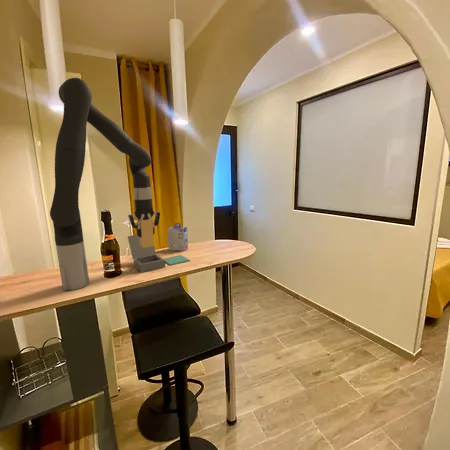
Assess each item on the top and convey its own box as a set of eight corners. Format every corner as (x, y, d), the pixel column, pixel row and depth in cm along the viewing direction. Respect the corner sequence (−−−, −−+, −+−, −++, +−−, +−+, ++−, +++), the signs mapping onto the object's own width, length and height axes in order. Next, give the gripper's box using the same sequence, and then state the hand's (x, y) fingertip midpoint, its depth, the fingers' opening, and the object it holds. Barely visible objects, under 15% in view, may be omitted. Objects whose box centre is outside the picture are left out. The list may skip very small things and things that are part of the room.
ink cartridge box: (188, 248, 152) (187, 222, 149) (185, 251, 147) (183, 224, 144) (172, 247, 154) (170, 222, 151) (168, 250, 149) (166, 224, 146)
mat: (170, 265, 125) (170, 264, 125) (162, 260, 133) (162, 258, 133) (189, 261, 130) (189, 259, 130) (181, 256, 138) (181, 254, 138)
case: (141, 272, 117) (140, 264, 117) (134, 265, 126) (133, 258, 126) (165, 267, 123) (164, 259, 122) (157, 260, 132) (156, 253, 132)
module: (143, 247, 119) (140, 220, 117) (139, 245, 123) (137, 219, 121) (154, 245, 122) (152, 219, 120) (150, 243, 126) (148, 218, 124)
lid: (127, 235, 129) (127, 237, 130) (133, 258, 126) (132, 259, 127) (150, 232, 135) (149, 233, 136) (156, 253, 132) (155, 254, 133)
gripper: (128, 199, 112) (132, 240, 115) (162, 197, 119) (164, 235, 123) (124, 198, 118) (127, 236, 121) (156, 196, 126) (158, 232, 129)
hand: (146, 235), depth 122 cm, fingers closed on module, 5 cm apart
